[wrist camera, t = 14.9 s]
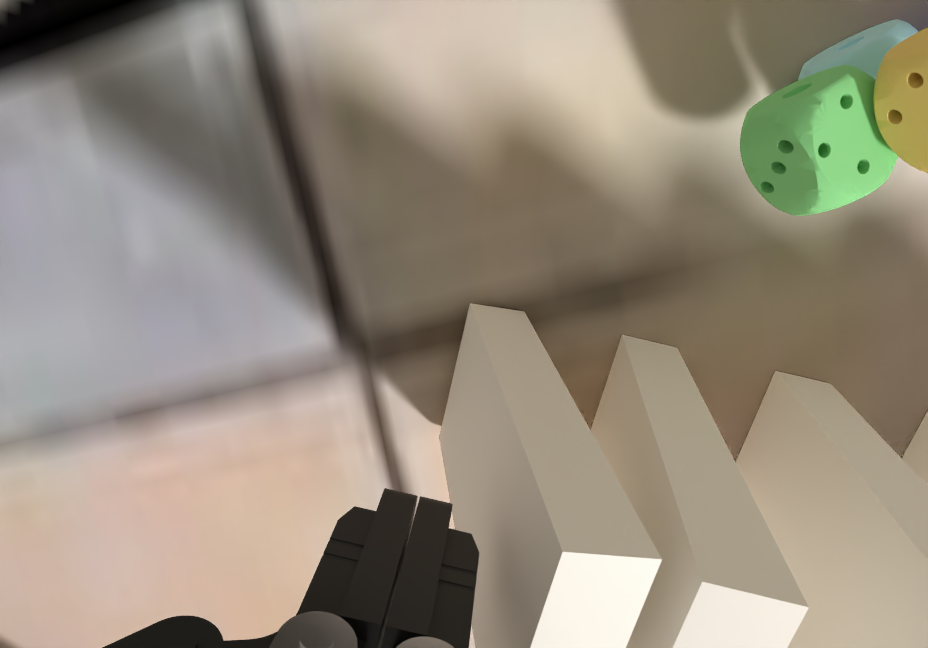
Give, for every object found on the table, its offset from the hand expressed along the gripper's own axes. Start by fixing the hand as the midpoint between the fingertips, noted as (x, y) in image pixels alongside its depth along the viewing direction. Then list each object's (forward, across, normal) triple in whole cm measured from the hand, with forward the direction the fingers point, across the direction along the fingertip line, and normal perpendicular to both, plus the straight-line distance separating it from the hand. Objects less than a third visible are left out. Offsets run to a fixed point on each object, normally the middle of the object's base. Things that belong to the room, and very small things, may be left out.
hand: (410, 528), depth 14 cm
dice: (+9, -9, -11) cm, 17 cm away
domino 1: (+8, -1, 0) cm, 8 cm away
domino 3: (+9, -11, 0) cm, 14 cm away
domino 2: (+9, -6, 0) cm, 10 cm away
